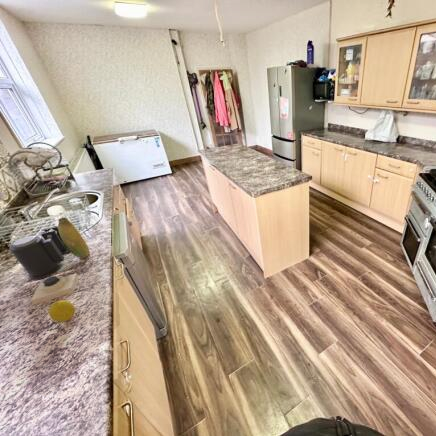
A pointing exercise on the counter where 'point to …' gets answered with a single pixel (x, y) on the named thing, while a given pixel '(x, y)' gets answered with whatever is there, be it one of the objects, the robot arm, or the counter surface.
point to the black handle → (55, 239)
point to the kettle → (37, 256)
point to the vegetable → (72, 238)
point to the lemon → (62, 311)
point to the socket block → (55, 289)
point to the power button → (51, 281)
